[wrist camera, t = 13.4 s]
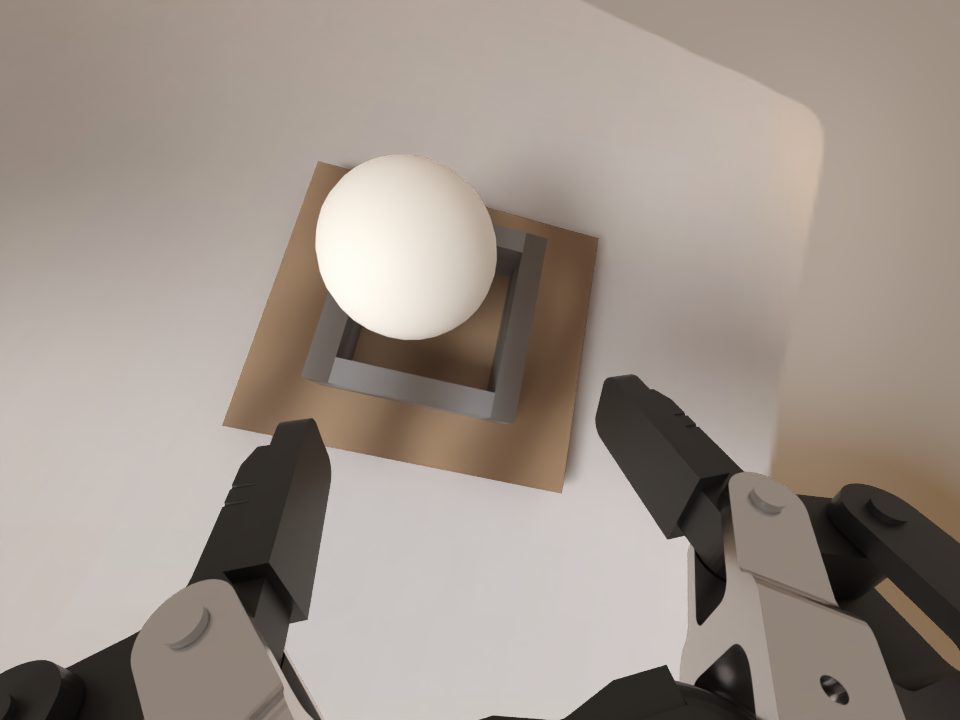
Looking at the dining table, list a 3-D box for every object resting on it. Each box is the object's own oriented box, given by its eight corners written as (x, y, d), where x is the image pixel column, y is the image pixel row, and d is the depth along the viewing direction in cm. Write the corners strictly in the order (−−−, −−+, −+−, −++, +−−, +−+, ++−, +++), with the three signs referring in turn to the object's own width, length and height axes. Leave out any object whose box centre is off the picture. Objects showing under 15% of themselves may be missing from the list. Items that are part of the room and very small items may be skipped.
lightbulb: (380, 257, 21) (331, 73, 10) (480, 288, 21) (536, 144, 10) (345, 356, 19) (245, 266, 9) (453, 386, 20) (486, 335, 9)
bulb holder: (237, 425, 19) (181, 424, 15) (325, 178, 23) (300, 118, 18) (552, 489, 21) (585, 504, 17) (588, 249, 24) (622, 210, 20)
